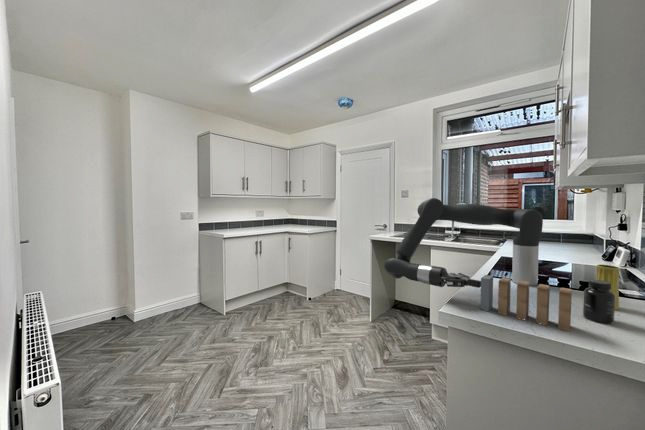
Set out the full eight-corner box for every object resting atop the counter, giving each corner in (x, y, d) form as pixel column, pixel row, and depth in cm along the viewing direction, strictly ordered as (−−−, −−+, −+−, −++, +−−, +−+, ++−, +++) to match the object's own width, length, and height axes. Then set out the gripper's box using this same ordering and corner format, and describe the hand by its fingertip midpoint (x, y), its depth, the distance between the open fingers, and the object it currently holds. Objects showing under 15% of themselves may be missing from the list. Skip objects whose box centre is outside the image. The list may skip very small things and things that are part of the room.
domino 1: (484, 305, 96) (485, 274, 95) (492, 307, 94) (493, 276, 93) (480, 309, 92) (481, 277, 92) (488, 311, 90) (489, 279, 90)
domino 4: (538, 318, 85) (539, 283, 84) (548, 320, 83) (549, 285, 83) (536, 323, 81) (537, 287, 81) (546, 325, 80) (547, 289, 79)
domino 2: (501, 309, 92) (502, 277, 91) (509, 311, 90) (510, 279, 90) (497, 313, 88) (498, 280, 88) (506, 315, 87) (507, 282, 86)
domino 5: (559, 323, 81) (560, 287, 81) (570, 325, 80) (571, 289, 79) (558, 328, 78) (559, 291, 77) (569, 331, 76) (570, 293, 76)
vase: (621, 311, 89) (623, 269, 88) (595, 307, 93) (597, 266, 92) (616, 305, 94) (618, 265, 93) (591, 302, 98) (593, 263, 97)
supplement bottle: (577, 316, 86) (579, 279, 85) (590, 313, 88) (591, 277, 87) (606, 326, 79) (608, 286, 79) (619, 322, 82) (621, 283, 81)
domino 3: (519, 313, 88) (520, 280, 88) (528, 315, 87) (529, 282, 86) (516, 318, 85) (517, 284, 84) (525, 320, 83) (526, 285, 83)
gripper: (424, 269, 102) (475, 277, 89) (438, 263, 111) (486, 270, 98) (424, 288, 102) (474, 300, 90) (438, 281, 111) (486, 290, 99)
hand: (480, 284), depth 94 cm, fingers closed
